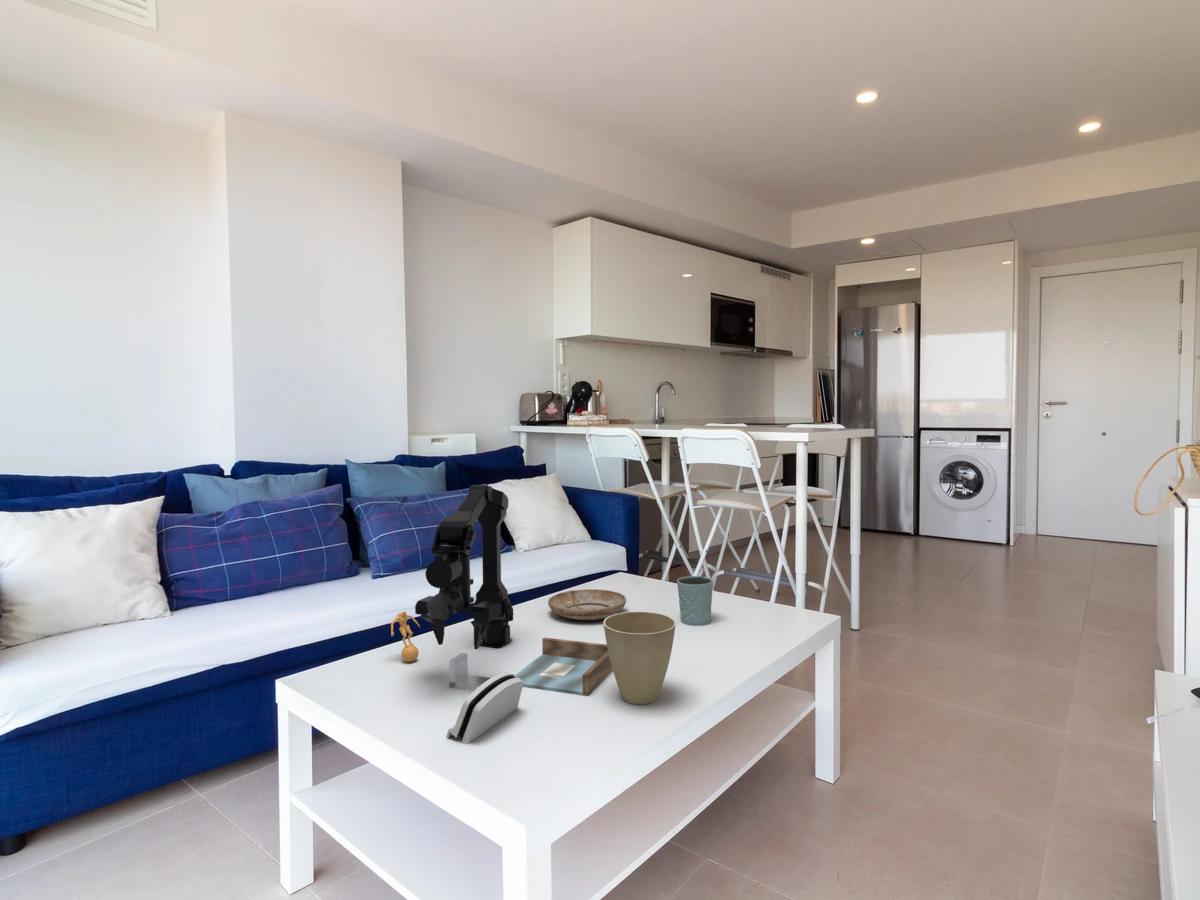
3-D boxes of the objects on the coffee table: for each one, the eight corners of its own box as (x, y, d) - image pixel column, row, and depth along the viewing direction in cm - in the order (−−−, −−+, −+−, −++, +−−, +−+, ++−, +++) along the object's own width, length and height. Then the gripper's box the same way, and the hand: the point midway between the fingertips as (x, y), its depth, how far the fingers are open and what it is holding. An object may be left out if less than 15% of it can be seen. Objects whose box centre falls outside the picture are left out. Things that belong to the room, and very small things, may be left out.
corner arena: (506, 684, 145) (506, 664, 145) (544, 655, 163) (544, 637, 163) (588, 695, 138) (587, 675, 138) (618, 664, 156) (618, 645, 156)
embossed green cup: (718, 619, 191) (718, 578, 190) (704, 629, 182) (704, 585, 182) (686, 614, 196) (686, 574, 196) (671, 623, 188) (671, 581, 187)
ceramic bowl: (599, 600, 214) (599, 584, 214) (641, 618, 194) (641, 601, 194) (535, 611, 202) (534, 595, 201) (572, 631, 182) (572, 614, 181)
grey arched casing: (497, 703, 135) (510, 660, 134) (515, 714, 134) (529, 671, 132) (444, 738, 120) (458, 690, 119) (464, 752, 119) (479, 704, 117)
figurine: (401, 668, 155) (400, 617, 155) (385, 663, 159) (384, 613, 158) (429, 657, 162) (428, 609, 162) (413, 653, 166) (411, 605, 165)
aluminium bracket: (449, 687, 144) (449, 660, 144) (462, 679, 149) (461, 652, 148) (481, 692, 141) (481, 664, 141) (493, 683, 146) (493, 656, 146)
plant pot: (589, 699, 136) (588, 623, 136) (633, 678, 148) (632, 607, 147) (648, 720, 127) (647, 638, 126) (690, 695, 138) (689, 619, 138)
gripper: (398, 582, 141) (400, 654, 142) (474, 588, 134) (475, 664, 135) (429, 570, 151) (431, 638, 152) (501, 576, 145) (502, 646, 145)
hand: (458, 646), depth 146 cm, fingers open, 9 cm apart
